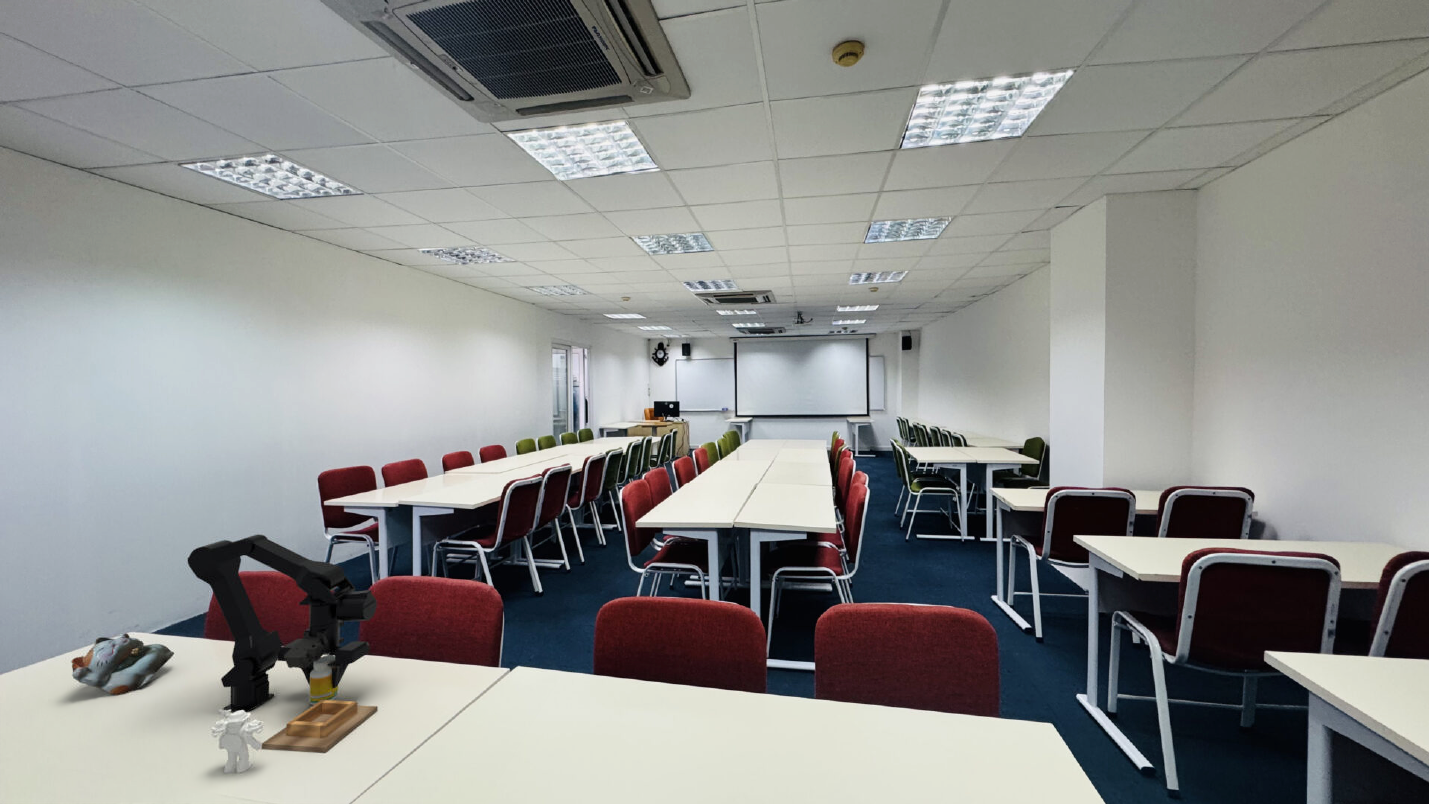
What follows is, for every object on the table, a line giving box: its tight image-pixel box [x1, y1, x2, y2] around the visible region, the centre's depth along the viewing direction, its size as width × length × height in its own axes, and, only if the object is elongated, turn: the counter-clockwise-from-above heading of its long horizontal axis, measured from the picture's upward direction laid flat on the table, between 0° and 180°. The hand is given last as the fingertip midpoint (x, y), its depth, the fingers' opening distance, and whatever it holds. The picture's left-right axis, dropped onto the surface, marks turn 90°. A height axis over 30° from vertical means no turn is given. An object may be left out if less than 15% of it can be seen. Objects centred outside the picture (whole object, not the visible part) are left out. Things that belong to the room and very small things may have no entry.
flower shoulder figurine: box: [211, 708, 265, 774], centre depth 97 cm, size 9×4×12 cm, turn 89°
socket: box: [261, 699, 379, 754], centre depth 109 cm, size 14×14×4 cm
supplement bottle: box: [309, 655, 339, 706], centre depth 119 cm, size 5×5×10 cm
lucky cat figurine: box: [70, 632, 175, 696], centre depth 125 cm, size 15×12×14 cm
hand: (323, 686), depth 119 cm, fingers closed on supplement bottle, 5 cm apart
